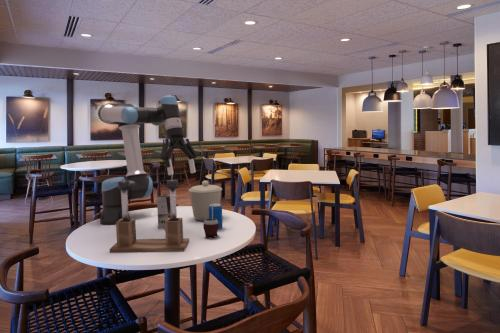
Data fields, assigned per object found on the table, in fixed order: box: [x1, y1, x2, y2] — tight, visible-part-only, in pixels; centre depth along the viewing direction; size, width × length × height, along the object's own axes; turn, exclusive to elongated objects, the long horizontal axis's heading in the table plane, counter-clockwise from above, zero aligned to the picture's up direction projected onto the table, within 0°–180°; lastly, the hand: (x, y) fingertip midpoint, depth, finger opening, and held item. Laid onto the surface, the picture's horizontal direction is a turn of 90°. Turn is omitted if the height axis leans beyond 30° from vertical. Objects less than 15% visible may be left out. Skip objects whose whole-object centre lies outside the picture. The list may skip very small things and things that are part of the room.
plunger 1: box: [118, 181, 130, 222], centre depth 145 cm, size 4×4×18 cm
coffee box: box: [156, 193, 171, 230], centre depth 177 cm, size 9×6×16 cm
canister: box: [188, 180, 223, 222], centre depth 191 cm, size 18×18×21 cm
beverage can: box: [209, 203, 223, 231], centre depth 171 cm, size 6×6×12 cm
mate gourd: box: [202, 202, 219, 239], centre depth 159 cm, size 8×8×15 cm
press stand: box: [109, 217, 190, 254], centre depth 146 cm, size 12×30×12 cm, turn 90°
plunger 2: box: [166, 179, 179, 221], centre depth 145 cm, size 4×4×18 cm
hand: (182, 173), depth 160 cm, fingers open, 13 cm apart
